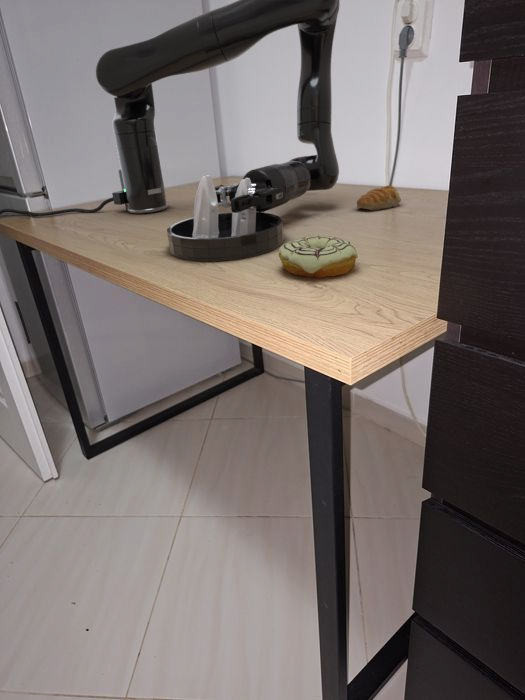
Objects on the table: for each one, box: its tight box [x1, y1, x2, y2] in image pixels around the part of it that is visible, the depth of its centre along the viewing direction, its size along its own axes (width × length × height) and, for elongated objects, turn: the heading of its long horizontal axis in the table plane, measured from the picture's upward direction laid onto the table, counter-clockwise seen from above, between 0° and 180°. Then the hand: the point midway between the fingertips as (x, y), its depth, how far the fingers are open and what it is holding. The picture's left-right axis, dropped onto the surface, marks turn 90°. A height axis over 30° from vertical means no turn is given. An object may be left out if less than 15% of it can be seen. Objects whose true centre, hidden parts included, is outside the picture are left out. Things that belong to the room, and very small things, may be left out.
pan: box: [166, 211, 284, 262], centre depth 85 cm, size 19×19×4 cm
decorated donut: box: [278, 235, 359, 279], centre depth 69 cm, size 10×11×4 cm
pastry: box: [356, 185, 402, 212], centre depth 103 cm, size 9×7×4 cm
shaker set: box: [192, 174, 256, 238], centre depth 83 cm, size 12×4×11 cm, turn 112°
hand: (214, 205), depth 81 cm, fingers closed on shaker set, 7 cm apart
